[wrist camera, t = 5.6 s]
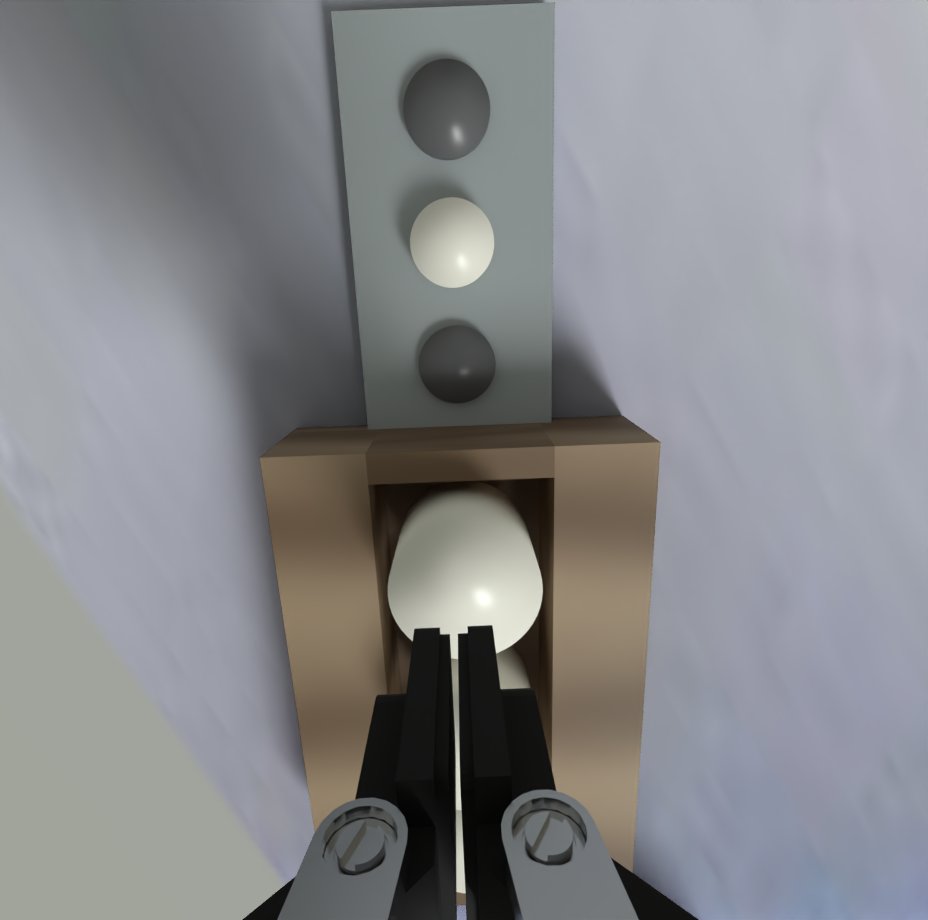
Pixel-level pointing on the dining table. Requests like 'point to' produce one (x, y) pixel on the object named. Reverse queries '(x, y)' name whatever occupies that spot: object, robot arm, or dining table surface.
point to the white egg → (465, 565)
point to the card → (450, 209)
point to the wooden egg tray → (542, 647)
